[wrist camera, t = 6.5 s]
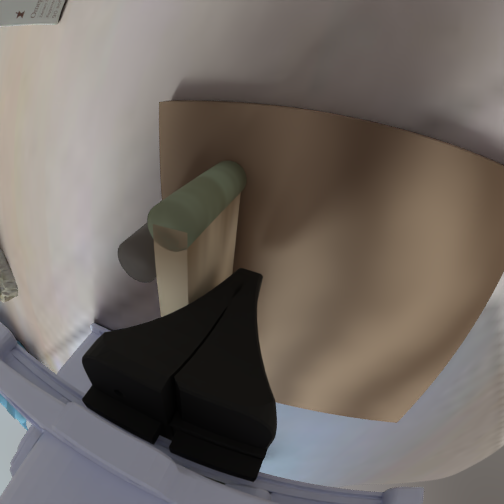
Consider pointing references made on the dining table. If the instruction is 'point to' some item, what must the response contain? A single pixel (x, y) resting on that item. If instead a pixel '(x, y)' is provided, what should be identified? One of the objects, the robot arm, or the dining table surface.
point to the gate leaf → (196, 235)
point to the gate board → (344, 246)
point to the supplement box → (30, 12)
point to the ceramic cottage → (6, 280)
